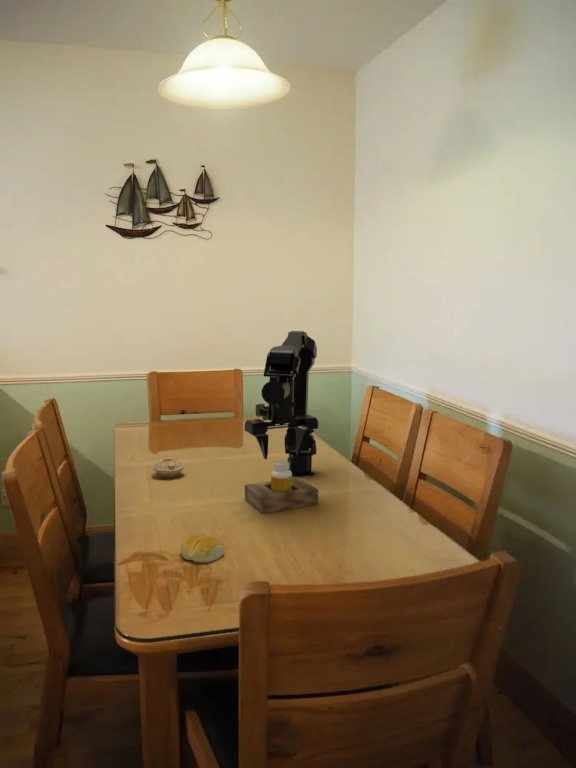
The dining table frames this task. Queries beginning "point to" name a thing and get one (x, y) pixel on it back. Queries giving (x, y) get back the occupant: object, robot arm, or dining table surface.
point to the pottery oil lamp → (168, 466)
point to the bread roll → (202, 548)
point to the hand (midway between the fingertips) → (281, 456)
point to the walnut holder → (281, 496)
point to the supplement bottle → (281, 477)
